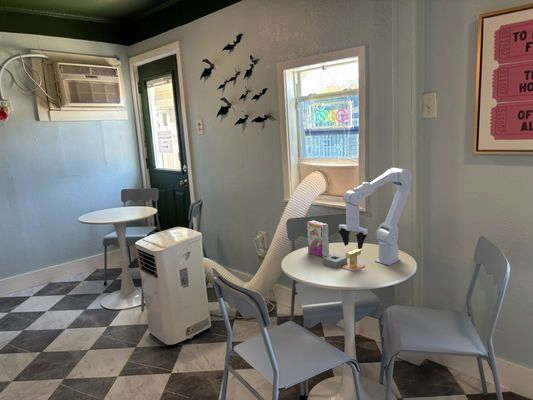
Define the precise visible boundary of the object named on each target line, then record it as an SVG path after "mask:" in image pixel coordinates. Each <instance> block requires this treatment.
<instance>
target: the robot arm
mask: <svg viewBox="0 0 533 400" xmlns="http://www.w3.org/2000/svg"><path fill="white" fill-rule="evenodd" d="M413 177H414V176H413V174H412V172H411V171H410V170H409V169H407V168H398V167H393V166H392V167H391V168H389V169H386V171H385V172H383V174H381V175H379V176H378V177H376V178H375V179H373V181H371V182H368V181H365V182H364V181H362V182H361V184H360V185H358V186H357V187H353V189H352V190H347V191H346V192H345V194H344V196H343V197H342V199H343V201H344V202H345V222H346V223H345V224H342V223H340V224H338V229H339V230H338V233H339V235H340V236H341V239H342V241H343V244H344V246H348V245H349V244H350V243H349V242H350V238H349V237H350V232H354V233H357V234H355V236H356V241H357V249H359V250H361V249H363V245H364V242H365V240H366V237H367V235H368V233H369V232H368V231H369V230H368V228H365V227H364V228H363V227H362V226H360V204H361V202H362V201H363V200H364V199H365V198H367V197H369V196H370V195H372V194H374V192H375V189H377V188H380V187H382V186H384V185H385V184H388V182H391V183H392V184H393V185H394V186H395V188H396V191H395V194H394V196H393V200H392V203H391V204H390V208H389V210H388V213H387V216H386V218H385V220H384V221H383V222H382V223H380V225H379V227H378V228H377V229H376V231H375V238H376V239H377V243H378V258H376V259H374V262H375V263H380V264H383V265H387V266H390V265H391V266H392V264H395V263H397V262H399V261H400V260H401V258H399V249H400V247H399V245H398V241H399V234H400V233H399V232H400V230H399V227H398V223H399V221H400V218H401V215H402V213H403V210H404V209H405V205H406V202H407V200H408V196H409V195H410V192H411V187H412V186H411V184H412V180H413Z"/></svg>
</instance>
